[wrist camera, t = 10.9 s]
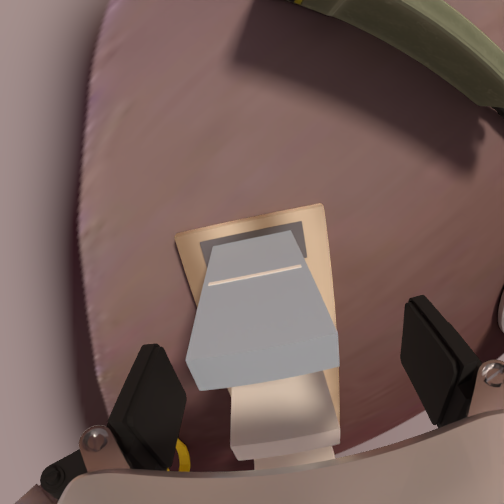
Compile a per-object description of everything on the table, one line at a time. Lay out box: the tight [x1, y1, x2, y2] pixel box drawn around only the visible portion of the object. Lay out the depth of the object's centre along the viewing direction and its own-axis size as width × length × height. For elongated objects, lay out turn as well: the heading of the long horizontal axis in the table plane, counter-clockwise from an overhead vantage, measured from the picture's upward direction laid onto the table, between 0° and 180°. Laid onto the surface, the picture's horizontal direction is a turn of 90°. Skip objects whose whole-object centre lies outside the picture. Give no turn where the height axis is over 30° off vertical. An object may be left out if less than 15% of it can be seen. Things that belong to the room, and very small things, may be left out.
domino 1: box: [186, 230, 339, 391], centre depth 15 cm, size 2×5×11 cm, turn 102°
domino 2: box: [230, 371, 340, 461], centre depth 17 cm, size 2×5×11 cm, turn 102°
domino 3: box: [254, 446, 335, 470], centre depth 20 cm, size 2×5×11 cm, turn 102°
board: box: [174, 203, 340, 426], centre depth 25 cm, size 10×28×1 cm, turn 12°
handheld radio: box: [286, 0, 504, 119], centre depth 13 cm, size 7×3×25 cm
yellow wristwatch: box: [167, 439, 190, 472], centre depth 27 cm, size 6×3×6 cm, turn 21°
